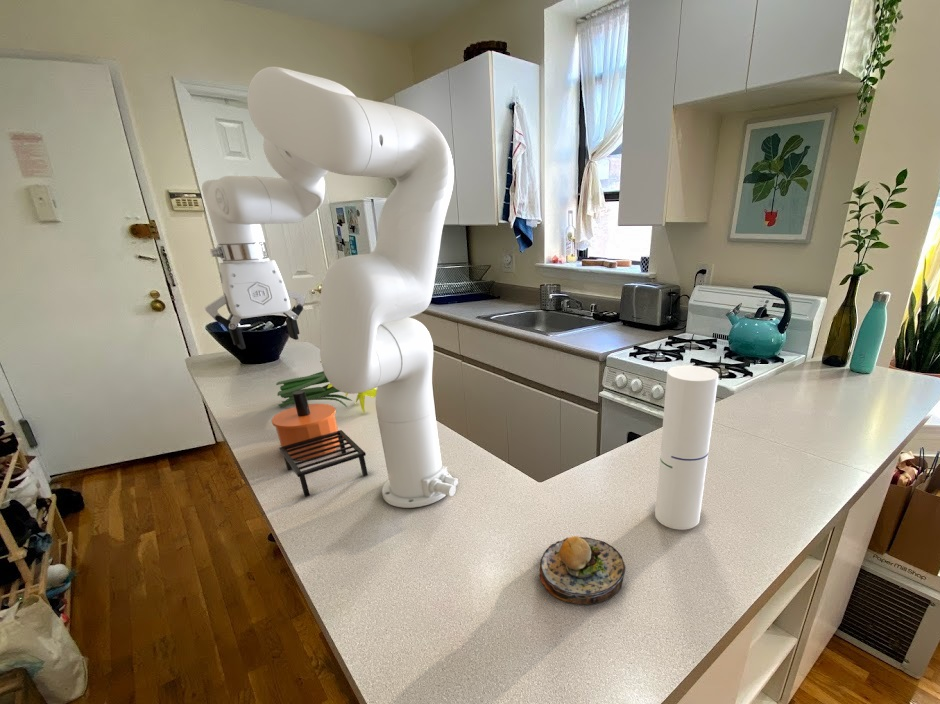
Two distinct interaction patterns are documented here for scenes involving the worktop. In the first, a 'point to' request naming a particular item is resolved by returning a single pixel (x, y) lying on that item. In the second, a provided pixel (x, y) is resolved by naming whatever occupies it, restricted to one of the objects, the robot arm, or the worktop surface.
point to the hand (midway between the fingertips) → (268, 343)
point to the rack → (341, 438)
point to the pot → (308, 437)
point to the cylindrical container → (685, 444)
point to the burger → (582, 570)
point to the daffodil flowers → (316, 390)
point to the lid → (303, 413)
